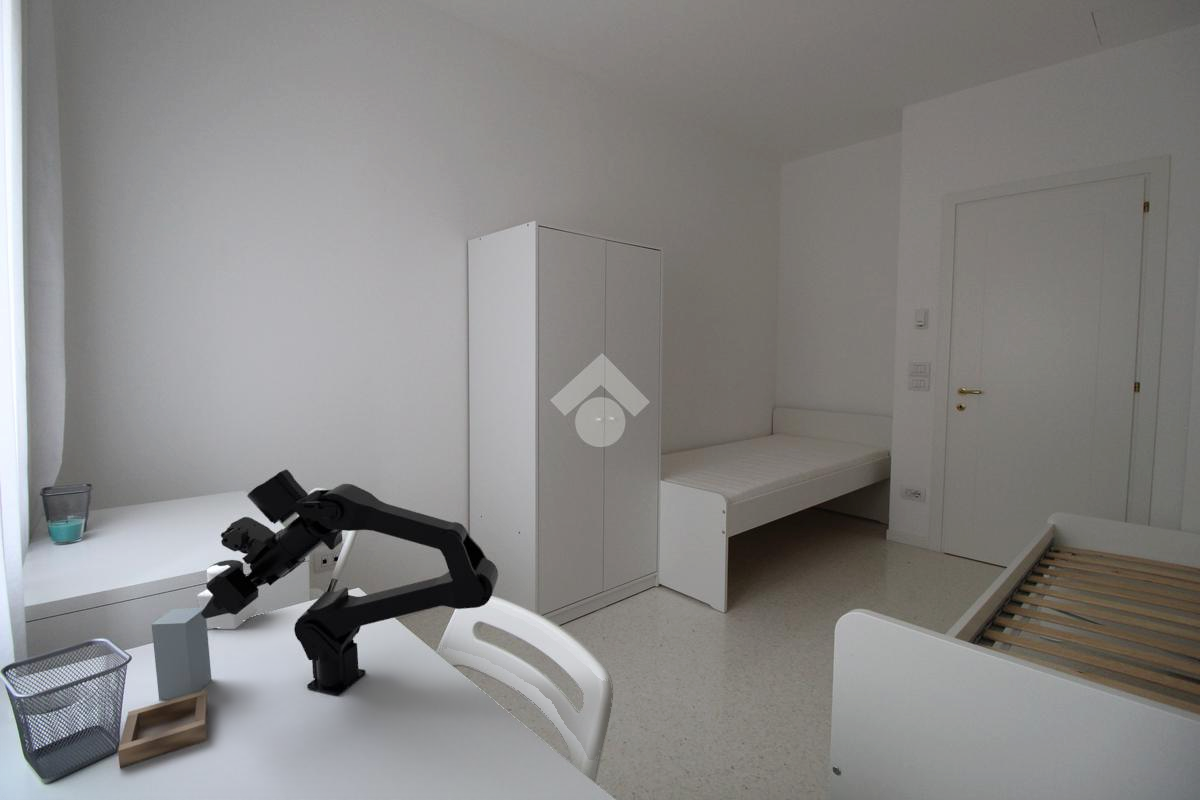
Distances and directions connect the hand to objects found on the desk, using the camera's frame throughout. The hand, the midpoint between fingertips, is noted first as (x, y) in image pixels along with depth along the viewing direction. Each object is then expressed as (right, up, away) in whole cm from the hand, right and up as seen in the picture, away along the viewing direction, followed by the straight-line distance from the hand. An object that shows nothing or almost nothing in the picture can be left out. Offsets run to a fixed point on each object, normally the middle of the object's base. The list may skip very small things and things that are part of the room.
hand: (222, 602), depth 92 cm
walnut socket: (-1, -15, -10) cm, 18 cm away
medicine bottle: (-14, -12, +22) cm, 29 cm away
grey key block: (-6, -14, 0) cm, 15 cm away
